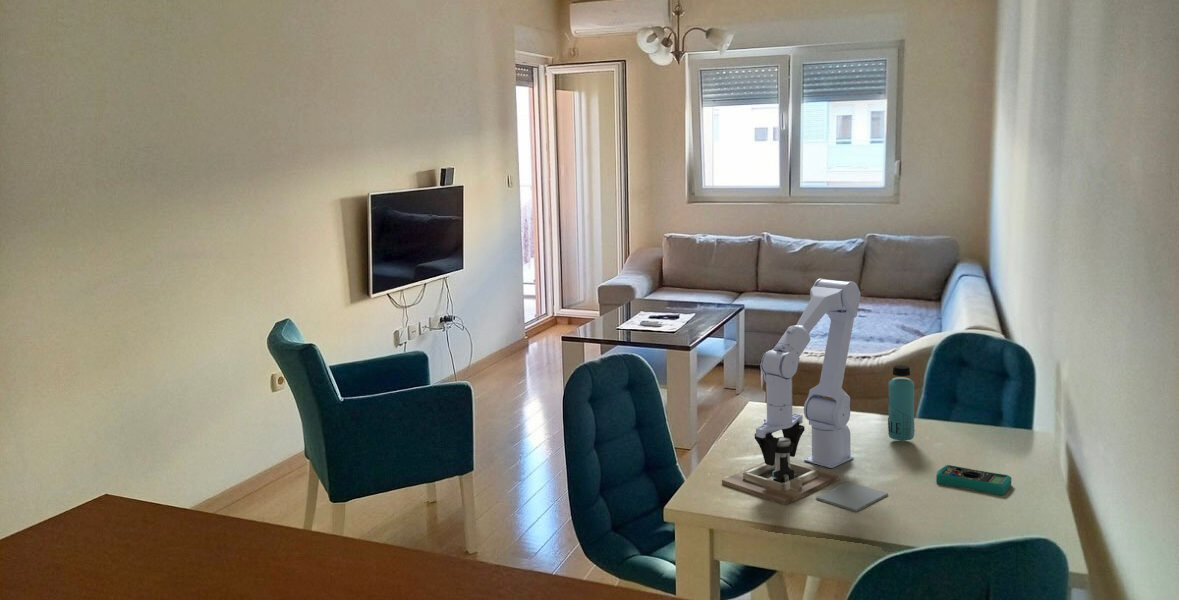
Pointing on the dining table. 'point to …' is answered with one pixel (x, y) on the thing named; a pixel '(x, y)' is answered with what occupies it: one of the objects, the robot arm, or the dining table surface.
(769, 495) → the brown flat rectangular frame
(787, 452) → the push button
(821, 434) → the robot arm
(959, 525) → the dining table surface
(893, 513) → the dining table surface
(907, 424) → the beverage bottle
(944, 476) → the digital multimeter
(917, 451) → the dining table surface
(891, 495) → the dining table surface
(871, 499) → the rubber mat
